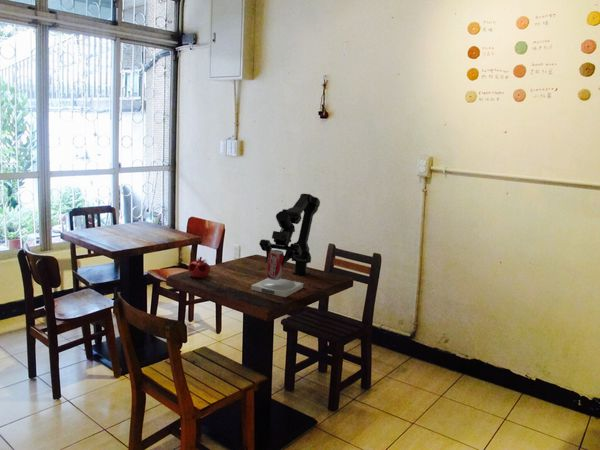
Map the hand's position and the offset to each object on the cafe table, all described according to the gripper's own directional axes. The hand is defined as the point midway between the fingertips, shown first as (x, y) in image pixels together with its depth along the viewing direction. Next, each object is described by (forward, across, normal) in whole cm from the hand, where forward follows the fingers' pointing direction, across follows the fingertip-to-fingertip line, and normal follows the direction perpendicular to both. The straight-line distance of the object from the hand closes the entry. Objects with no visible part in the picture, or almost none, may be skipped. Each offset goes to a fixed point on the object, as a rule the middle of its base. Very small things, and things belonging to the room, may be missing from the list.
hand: (274, 263), depth 227 cm
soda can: (+4, 0, +6) cm, 7 cm away
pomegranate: (+7, -39, +11) cm, 41 cm away
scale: (+6, 0, +12) cm, 13 cm away
